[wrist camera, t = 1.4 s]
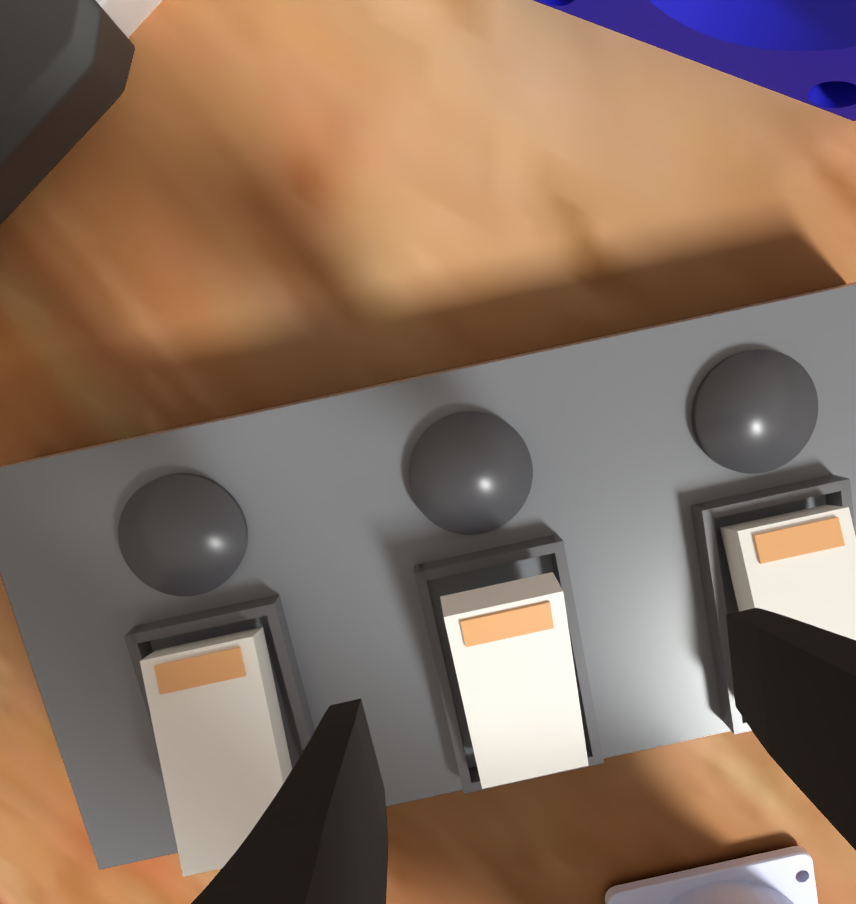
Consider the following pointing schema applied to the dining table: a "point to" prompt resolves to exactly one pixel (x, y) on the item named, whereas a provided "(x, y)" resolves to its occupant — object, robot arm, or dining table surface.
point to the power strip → (431, 543)
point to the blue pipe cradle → (748, 40)
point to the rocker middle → (517, 678)
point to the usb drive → (57, 80)
